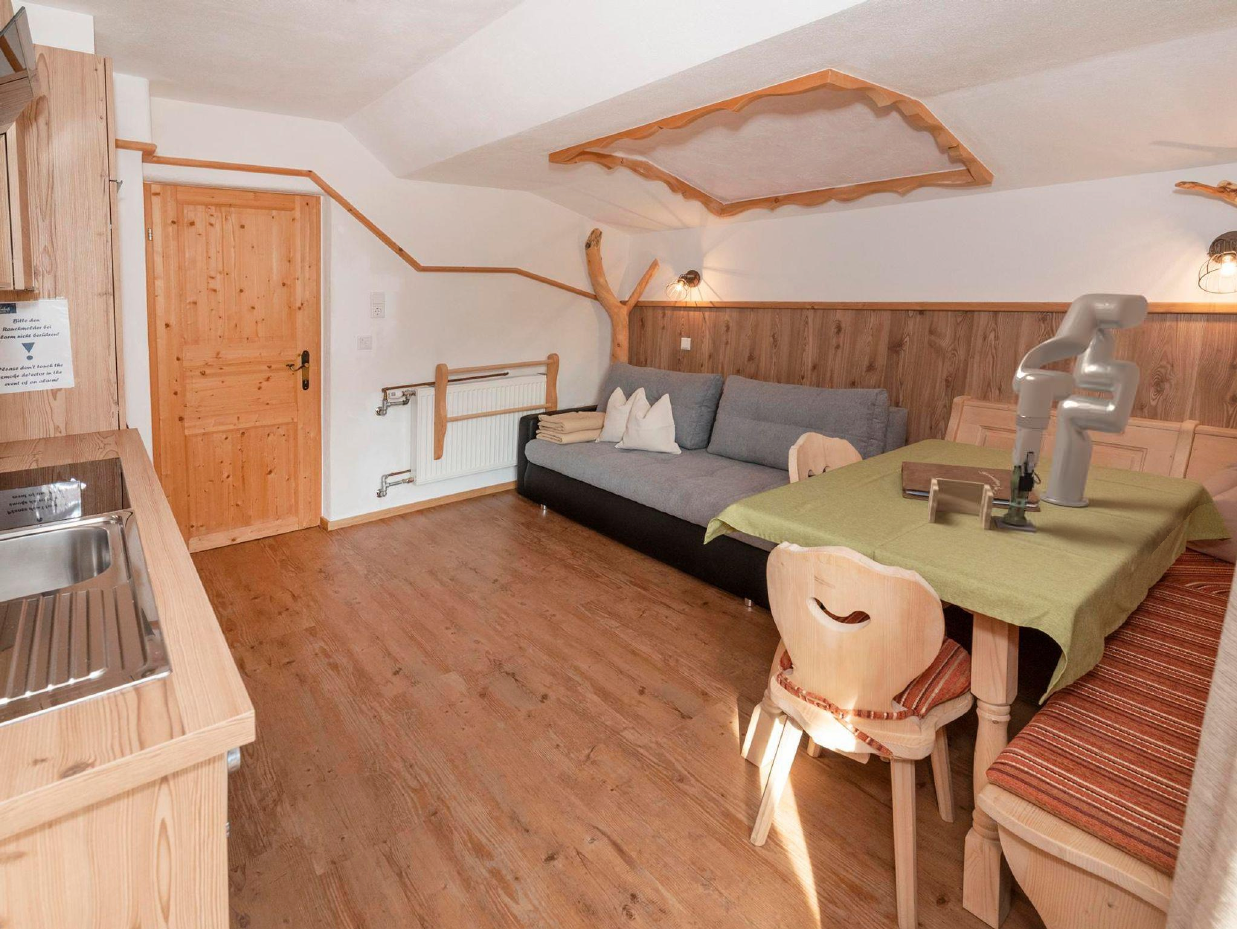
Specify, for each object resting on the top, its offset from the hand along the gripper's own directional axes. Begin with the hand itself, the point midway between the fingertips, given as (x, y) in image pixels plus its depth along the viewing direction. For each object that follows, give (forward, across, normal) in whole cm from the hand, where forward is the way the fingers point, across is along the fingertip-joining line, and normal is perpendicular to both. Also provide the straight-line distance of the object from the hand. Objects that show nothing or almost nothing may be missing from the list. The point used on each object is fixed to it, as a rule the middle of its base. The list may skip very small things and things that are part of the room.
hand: (1021, 485), depth 192 cm
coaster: (+11, +1, 0) cm, 11 cm away
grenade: (+10, +2, 0) cm, 10 cm away
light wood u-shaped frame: (+11, +2, -14) cm, 18 cm away
